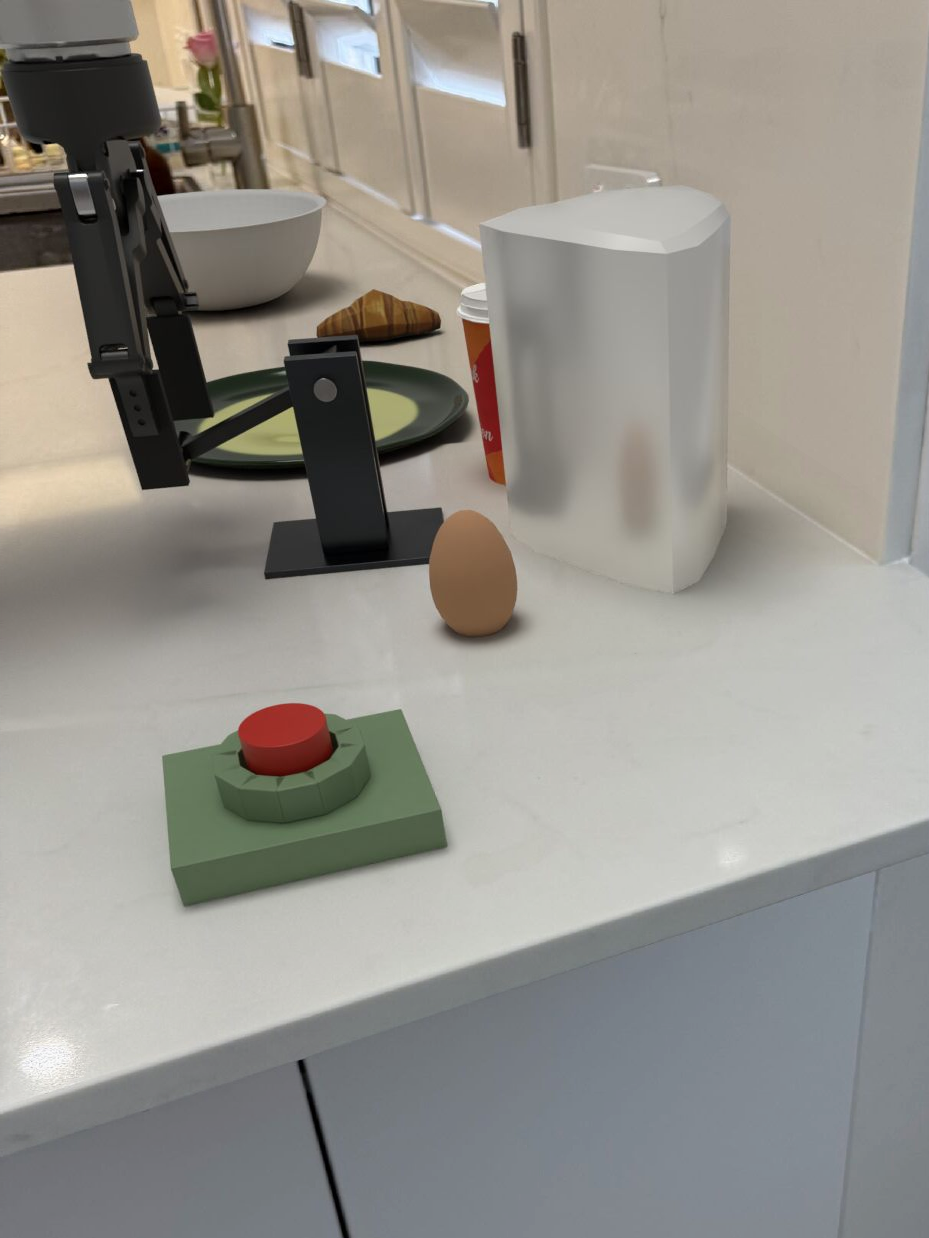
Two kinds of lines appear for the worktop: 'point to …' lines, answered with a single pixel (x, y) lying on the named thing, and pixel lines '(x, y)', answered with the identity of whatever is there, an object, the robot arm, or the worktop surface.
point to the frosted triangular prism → (614, 379)
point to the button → (285, 739)
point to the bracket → (342, 474)
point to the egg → (472, 575)
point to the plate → (397, 399)
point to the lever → (236, 423)
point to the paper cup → (483, 375)
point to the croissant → (380, 319)
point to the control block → (298, 811)
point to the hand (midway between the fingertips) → (181, 450)
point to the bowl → (243, 242)
